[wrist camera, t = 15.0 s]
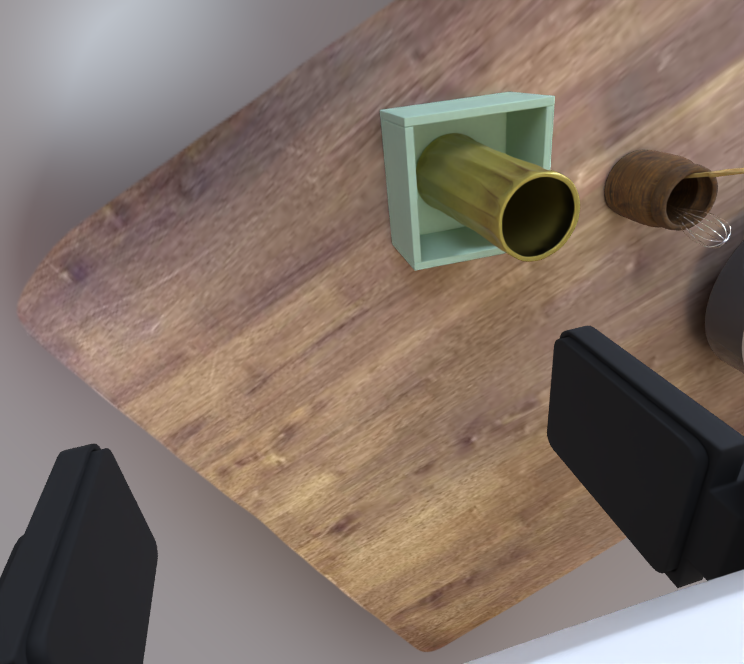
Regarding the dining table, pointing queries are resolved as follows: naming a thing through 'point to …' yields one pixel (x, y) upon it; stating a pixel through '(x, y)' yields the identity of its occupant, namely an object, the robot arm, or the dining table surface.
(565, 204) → the vase
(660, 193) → the utensil holder
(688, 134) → the dining table surface
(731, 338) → the planter
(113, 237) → the dining table surface
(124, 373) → the dining table surface
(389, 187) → the bin
